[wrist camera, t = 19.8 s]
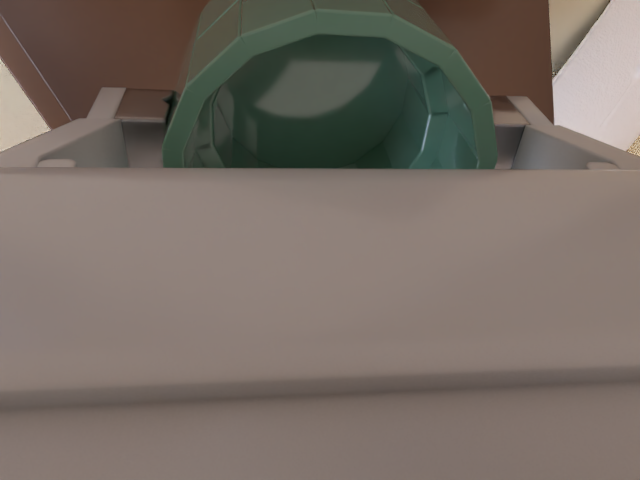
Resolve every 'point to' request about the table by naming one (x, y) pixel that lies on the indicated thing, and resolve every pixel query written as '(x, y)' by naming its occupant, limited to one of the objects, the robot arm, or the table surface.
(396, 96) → the cylindrical container
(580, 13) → the table surface
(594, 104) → the white curved flat piece
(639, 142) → the table surface
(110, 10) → the cabinet
